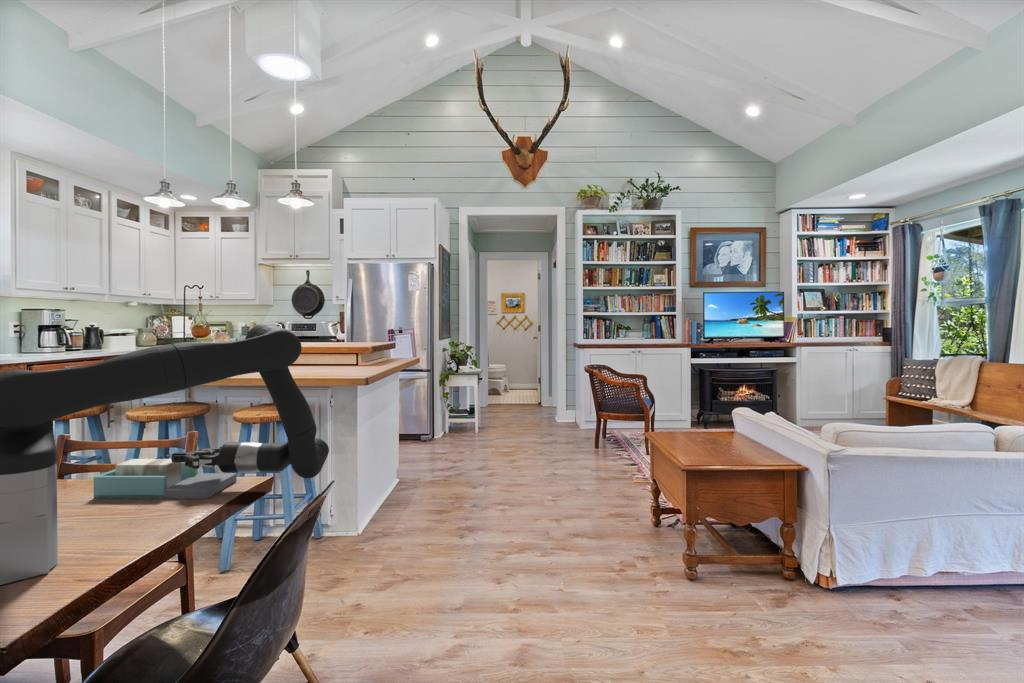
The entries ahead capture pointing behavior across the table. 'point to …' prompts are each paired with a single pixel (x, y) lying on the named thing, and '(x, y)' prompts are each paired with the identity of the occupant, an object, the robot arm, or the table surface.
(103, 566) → the table surface
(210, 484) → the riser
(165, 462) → the block
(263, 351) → the robot arm
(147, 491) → the box
